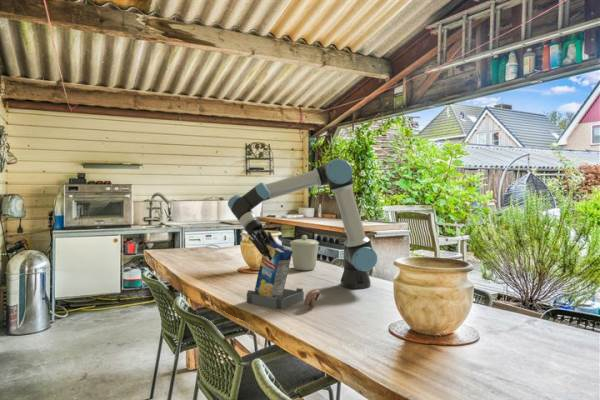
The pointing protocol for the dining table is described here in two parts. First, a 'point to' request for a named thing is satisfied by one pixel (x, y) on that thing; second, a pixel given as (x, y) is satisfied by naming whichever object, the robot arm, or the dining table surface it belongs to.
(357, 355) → the dining table surface
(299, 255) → the canister
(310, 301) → the mushroom
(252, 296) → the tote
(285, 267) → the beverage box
